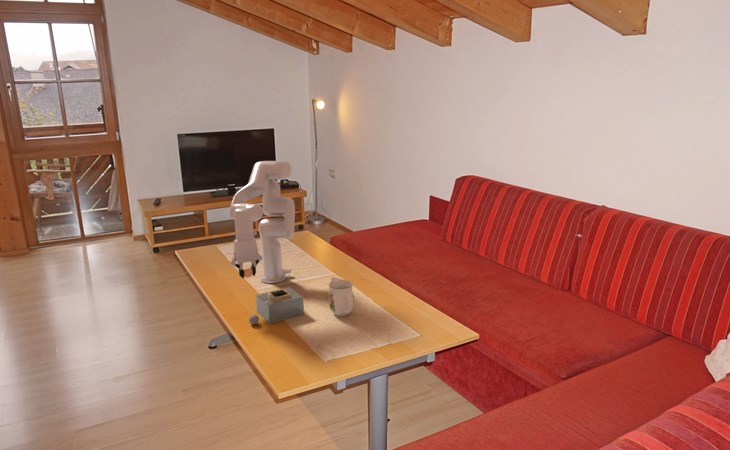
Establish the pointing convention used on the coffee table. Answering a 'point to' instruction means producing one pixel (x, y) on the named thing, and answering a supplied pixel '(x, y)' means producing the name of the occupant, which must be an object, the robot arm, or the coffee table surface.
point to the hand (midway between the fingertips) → (247, 275)
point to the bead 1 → (247, 272)
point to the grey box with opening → (279, 304)
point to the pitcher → (340, 296)
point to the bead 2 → (254, 319)
